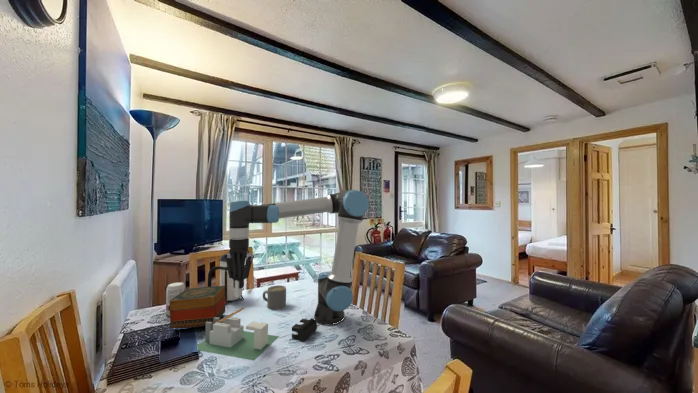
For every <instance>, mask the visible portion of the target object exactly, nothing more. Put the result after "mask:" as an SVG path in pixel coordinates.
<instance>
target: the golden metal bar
mask: <svg viewBox="0 0 698 393" xmlns="http://www.w3.org/2000/svg"><path fill="white" fill-rule="evenodd" d="M242 311H244V307H241V308H239V309H238V310H235V311H234V312H232V313H231V314H228V315H227V316H224V317H223V318H220V320H219V321H217V323H223V320H225V319H227V318H229V317H233V316H235V315H236V314H238V313H240V312H242ZM215 323H216V322H214V323H212V328H213V324H215Z"/></svg>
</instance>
